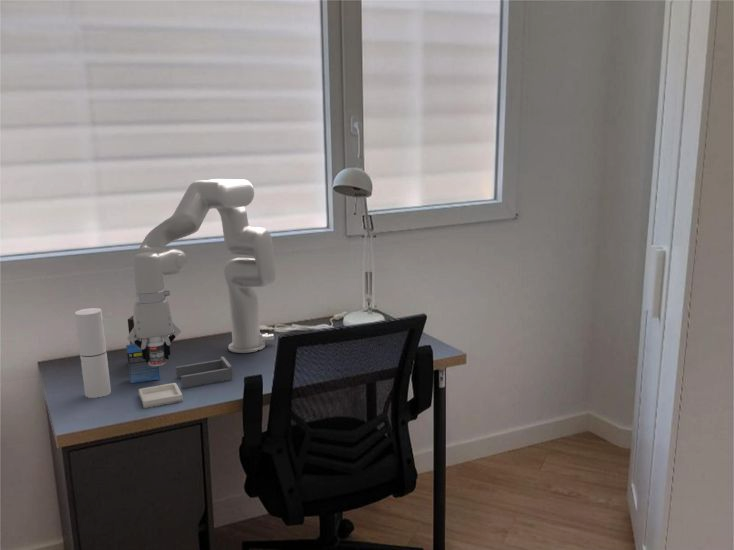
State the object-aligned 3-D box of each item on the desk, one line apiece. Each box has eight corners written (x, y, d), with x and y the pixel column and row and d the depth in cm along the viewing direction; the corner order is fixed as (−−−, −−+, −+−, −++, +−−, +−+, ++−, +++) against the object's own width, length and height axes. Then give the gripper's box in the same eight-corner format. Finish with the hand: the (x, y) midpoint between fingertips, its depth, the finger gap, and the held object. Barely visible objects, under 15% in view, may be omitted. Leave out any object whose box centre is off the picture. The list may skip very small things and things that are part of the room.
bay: (224, 369, 226) (223, 356, 225) (232, 379, 217) (231, 366, 216) (176, 377, 220) (175, 364, 219) (182, 388, 211) (181, 374, 210)
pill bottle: (150, 367, 198) (147, 339, 197) (147, 362, 202) (144, 334, 201) (167, 364, 200) (164, 336, 199) (163, 359, 205) (161, 331, 203)
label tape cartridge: (159, 375, 222) (156, 337, 220) (160, 379, 219) (156, 341, 216) (130, 379, 220) (125, 341, 217) (130, 384, 216) (125, 345, 213)
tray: (176, 388, 211) (175, 382, 210) (182, 401, 201) (182, 394, 201) (139, 395, 206) (138, 389, 206) (144, 408, 197) (143, 401, 197)
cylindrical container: (95, 399, 204) (85, 315, 199) (79, 395, 208) (69, 312, 203) (116, 391, 210) (106, 309, 205) (100, 387, 214) (90, 306, 208)
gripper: (179, 290, 204) (184, 351, 208) (117, 298, 197) (123, 360, 201) (184, 296, 197) (189, 358, 201) (119, 304, 191) (126, 368, 194)
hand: (156, 359), depth 201 cm, fingers closed on pill bottle, 4 cm apart
